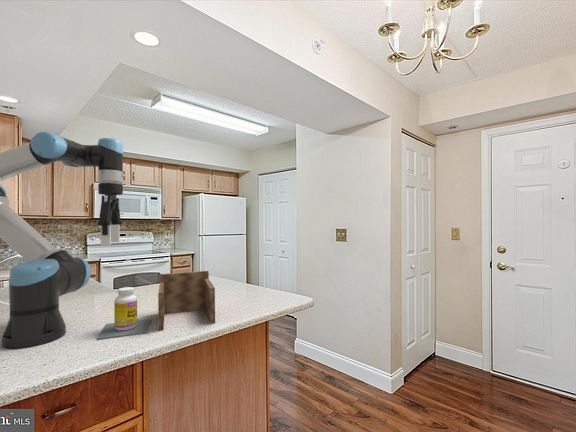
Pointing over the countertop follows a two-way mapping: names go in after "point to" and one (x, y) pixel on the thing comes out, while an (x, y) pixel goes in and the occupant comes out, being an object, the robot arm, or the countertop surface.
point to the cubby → (185, 294)
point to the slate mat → (111, 332)
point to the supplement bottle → (125, 309)
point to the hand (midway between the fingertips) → (110, 243)
